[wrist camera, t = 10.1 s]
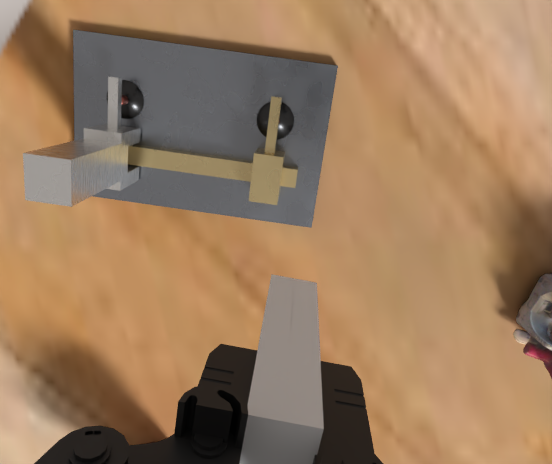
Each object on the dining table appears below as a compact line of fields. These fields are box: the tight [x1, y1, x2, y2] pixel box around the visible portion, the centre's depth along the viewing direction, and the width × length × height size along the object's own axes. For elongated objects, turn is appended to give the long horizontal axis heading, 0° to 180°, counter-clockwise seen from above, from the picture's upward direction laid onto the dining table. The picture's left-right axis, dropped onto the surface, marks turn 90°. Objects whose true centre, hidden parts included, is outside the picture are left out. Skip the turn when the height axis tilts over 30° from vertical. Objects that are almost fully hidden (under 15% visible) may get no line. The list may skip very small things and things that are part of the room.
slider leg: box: [23, 77, 141, 207], centre depth 33 cm, size 9×3×12 cm, turn 173°
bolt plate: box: [73, 30, 338, 227], centre depth 40 cm, size 14×22×1 cm, turn 83°
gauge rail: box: [128, 96, 298, 205], centre depth 38 cm, size 8×18×3 cm, turn 83°
